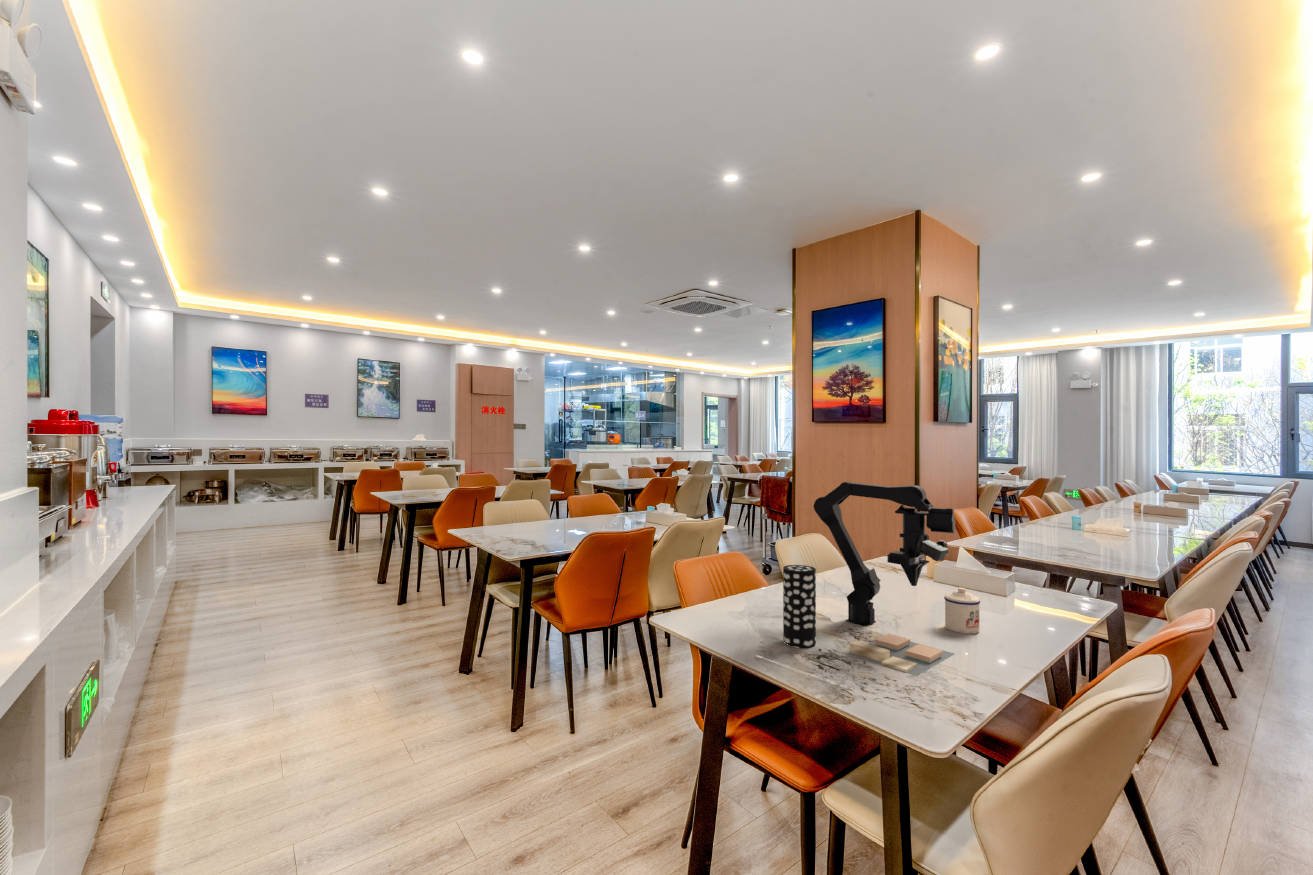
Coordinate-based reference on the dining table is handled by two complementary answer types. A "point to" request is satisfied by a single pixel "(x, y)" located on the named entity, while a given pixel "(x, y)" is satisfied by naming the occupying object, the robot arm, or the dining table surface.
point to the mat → (901, 654)
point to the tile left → (892, 642)
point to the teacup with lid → (962, 612)
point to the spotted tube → (799, 606)
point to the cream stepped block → (881, 656)
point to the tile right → (924, 653)
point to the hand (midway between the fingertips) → (913, 585)
